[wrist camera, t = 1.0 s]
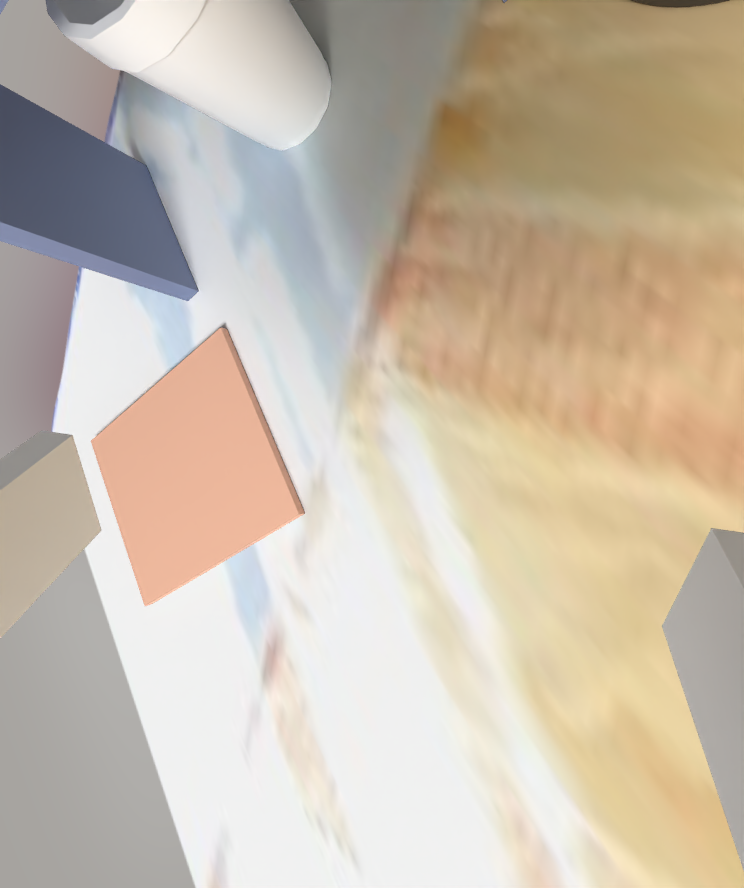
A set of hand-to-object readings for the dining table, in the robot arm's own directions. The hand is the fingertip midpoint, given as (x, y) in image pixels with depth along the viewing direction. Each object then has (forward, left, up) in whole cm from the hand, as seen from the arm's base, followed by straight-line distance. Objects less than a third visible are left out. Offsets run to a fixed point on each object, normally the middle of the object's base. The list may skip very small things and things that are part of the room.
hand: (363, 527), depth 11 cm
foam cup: (+2, -29, -18) cm, 34 cm away
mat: (+21, -12, -17) cm, 30 cm away
